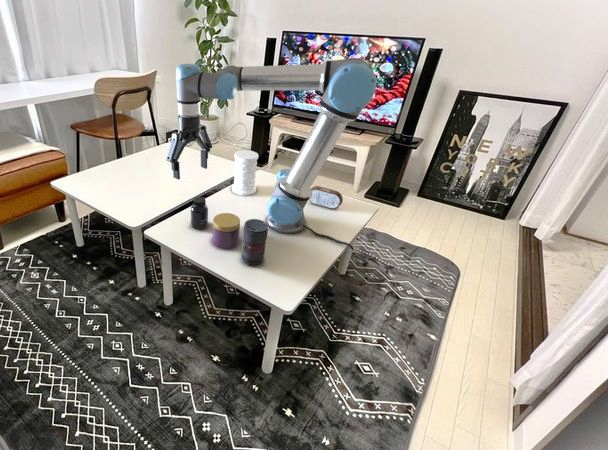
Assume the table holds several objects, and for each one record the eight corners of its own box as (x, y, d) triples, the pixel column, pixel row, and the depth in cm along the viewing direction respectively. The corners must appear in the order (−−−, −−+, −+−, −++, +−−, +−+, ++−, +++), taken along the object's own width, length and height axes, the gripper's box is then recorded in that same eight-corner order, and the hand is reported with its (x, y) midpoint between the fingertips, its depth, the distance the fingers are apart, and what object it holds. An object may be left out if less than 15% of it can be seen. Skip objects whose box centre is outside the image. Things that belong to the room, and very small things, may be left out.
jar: (241, 236, 132) (243, 216, 127) (235, 251, 124) (236, 230, 119) (216, 232, 135) (217, 212, 130) (209, 246, 127) (209, 226, 122)
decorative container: (230, 194, 161) (232, 158, 151) (233, 183, 171) (235, 149, 161) (255, 196, 160) (258, 160, 150) (256, 185, 169) (259, 150, 159)
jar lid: (242, 219, 128) (242, 215, 127) (236, 234, 120) (236, 229, 119) (217, 215, 130) (217, 211, 129) (209, 229, 122) (209, 224, 121)
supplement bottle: (205, 231, 135) (206, 205, 128) (189, 229, 136) (188, 203, 129) (209, 222, 140) (209, 196, 134) (193, 220, 142) (192, 194, 135)
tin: (340, 209, 150) (345, 192, 146) (338, 212, 148) (343, 194, 143) (307, 200, 157) (310, 183, 152) (305, 202, 155) (308, 186, 150)
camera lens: (258, 270, 115) (262, 234, 107) (236, 262, 119) (239, 226, 111) (267, 258, 121) (272, 222, 113) (247, 250, 124) (250, 215, 116)
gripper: (207, 106, 124) (207, 160, 136) (152, 119, 110) (157, 179, 121) (222, 110, 120) (221, 166, 131) (167, 124, 105) (171, 186, 117)
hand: (190, 172), depth 126 cm, fingers open, 13 cm apart
